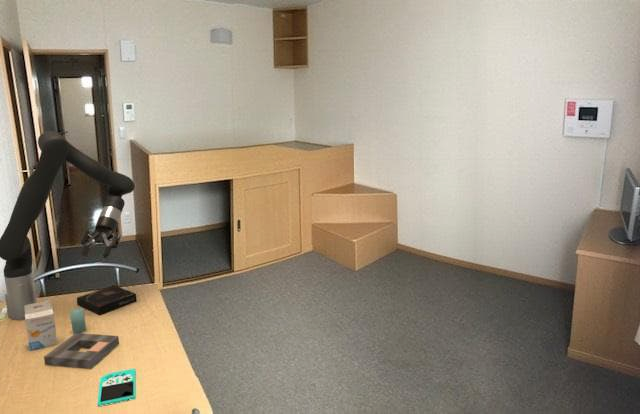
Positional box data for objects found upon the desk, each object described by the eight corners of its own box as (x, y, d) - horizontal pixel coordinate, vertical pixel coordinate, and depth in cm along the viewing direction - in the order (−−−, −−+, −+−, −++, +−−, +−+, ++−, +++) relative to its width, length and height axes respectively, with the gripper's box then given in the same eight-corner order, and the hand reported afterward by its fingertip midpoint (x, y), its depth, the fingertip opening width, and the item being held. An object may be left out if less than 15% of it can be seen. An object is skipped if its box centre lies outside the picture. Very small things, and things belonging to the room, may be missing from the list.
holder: (45, 364, 153) (43, 355, 152) (77, 340, 168) (76, 332, 168) (90, 368, 151) (89, 359, 150) (119, 343, 166) (118, 335, 165)
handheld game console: (136, 371, 150) (135, 367, 150) (136, 400, 135) (136, 396, 135) (101, 378, 147) (100, 374, 146) (97, 408, 132) (97, 404, 132)
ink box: (29, 351, 162) (23, 310, 158) (28, 345, 166) (22, 305, 162) (57, 344, 166) (52, 304, 163) (56, 338, 170) (51, 299, 167)
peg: (70, 333, 174) (67, 312, 172) (77, 327, 178) (75, 307, 176) (81, 334, 173) (78, 313, 172) (88, 328, 178) (86, 308, 176)
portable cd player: (113, 293, 211) (113, 284, 210) (136, 302, 201) (135, 293, 200) (77, 306, 198) (76, 297, 197) (99, 316, 188) (98, 307, 187)
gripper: (87, 214, 190) (72, 251, 181) (120, 215, 188) (106, 252, 179) (97, 224, 196) (82, 259, 188) (129, 225, 194) (116, 261, 185)
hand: (94, 256), depth 183 cm, fingers open, 8 cm apart
